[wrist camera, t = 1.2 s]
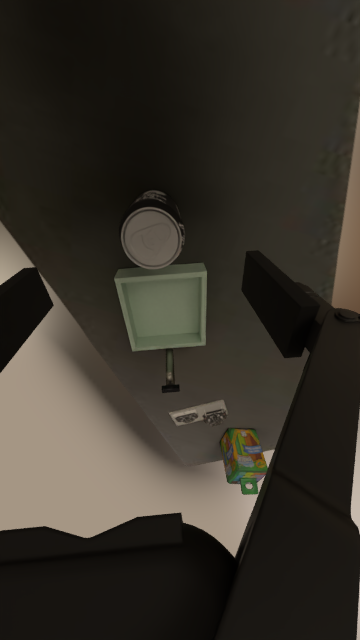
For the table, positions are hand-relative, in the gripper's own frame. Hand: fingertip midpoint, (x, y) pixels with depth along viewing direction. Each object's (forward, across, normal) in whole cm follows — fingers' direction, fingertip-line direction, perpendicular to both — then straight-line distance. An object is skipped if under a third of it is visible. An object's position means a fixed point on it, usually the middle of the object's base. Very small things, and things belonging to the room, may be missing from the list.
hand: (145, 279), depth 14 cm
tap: (+20, 0, -23) cm, 30 cm away
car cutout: (+21, +6, -50) cm, 54 cm away
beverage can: (+20, 0, 0) cm, 20 cm away
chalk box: (+21, +18, -65) cm, 70 cm away
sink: (+20, 0, -14) cm, 25 cm away
